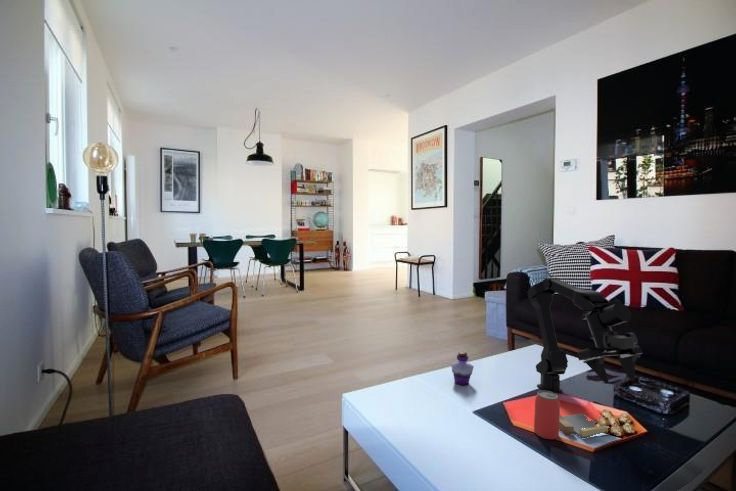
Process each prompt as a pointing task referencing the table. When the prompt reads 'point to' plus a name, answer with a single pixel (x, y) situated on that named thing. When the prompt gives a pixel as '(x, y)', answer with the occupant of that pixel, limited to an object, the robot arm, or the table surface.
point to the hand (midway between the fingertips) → (620, 382)
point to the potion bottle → (462, 369)
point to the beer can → (547, 415)
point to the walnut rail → (565, 426)
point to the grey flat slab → (584, 425)
